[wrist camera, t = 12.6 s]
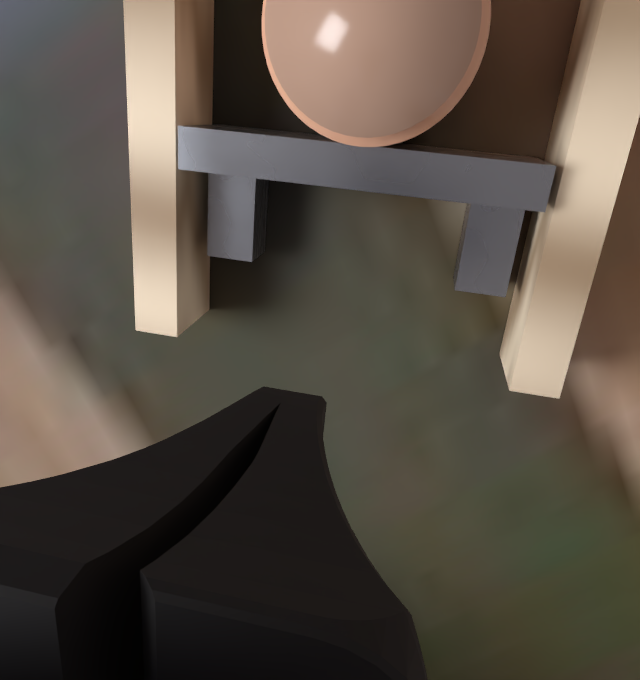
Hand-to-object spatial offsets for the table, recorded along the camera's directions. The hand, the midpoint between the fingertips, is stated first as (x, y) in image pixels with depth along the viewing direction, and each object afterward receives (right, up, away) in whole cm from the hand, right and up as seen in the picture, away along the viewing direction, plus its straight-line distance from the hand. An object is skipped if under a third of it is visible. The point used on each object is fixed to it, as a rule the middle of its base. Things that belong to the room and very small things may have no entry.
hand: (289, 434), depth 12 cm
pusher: (+2, +7, +8) cm, 10 cm away
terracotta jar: (+3, +11, +6) cm, 13 cm away
